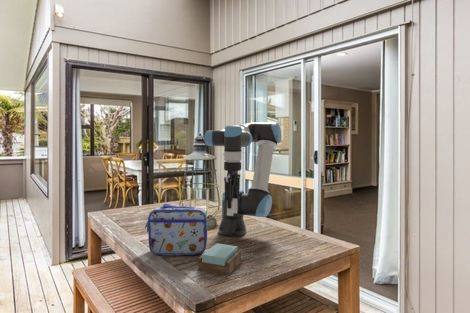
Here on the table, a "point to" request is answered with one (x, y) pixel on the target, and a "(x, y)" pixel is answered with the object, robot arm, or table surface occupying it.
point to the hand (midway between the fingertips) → (232, 214)
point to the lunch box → (177, 230)
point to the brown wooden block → (221, 269)
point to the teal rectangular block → (219, 254)
